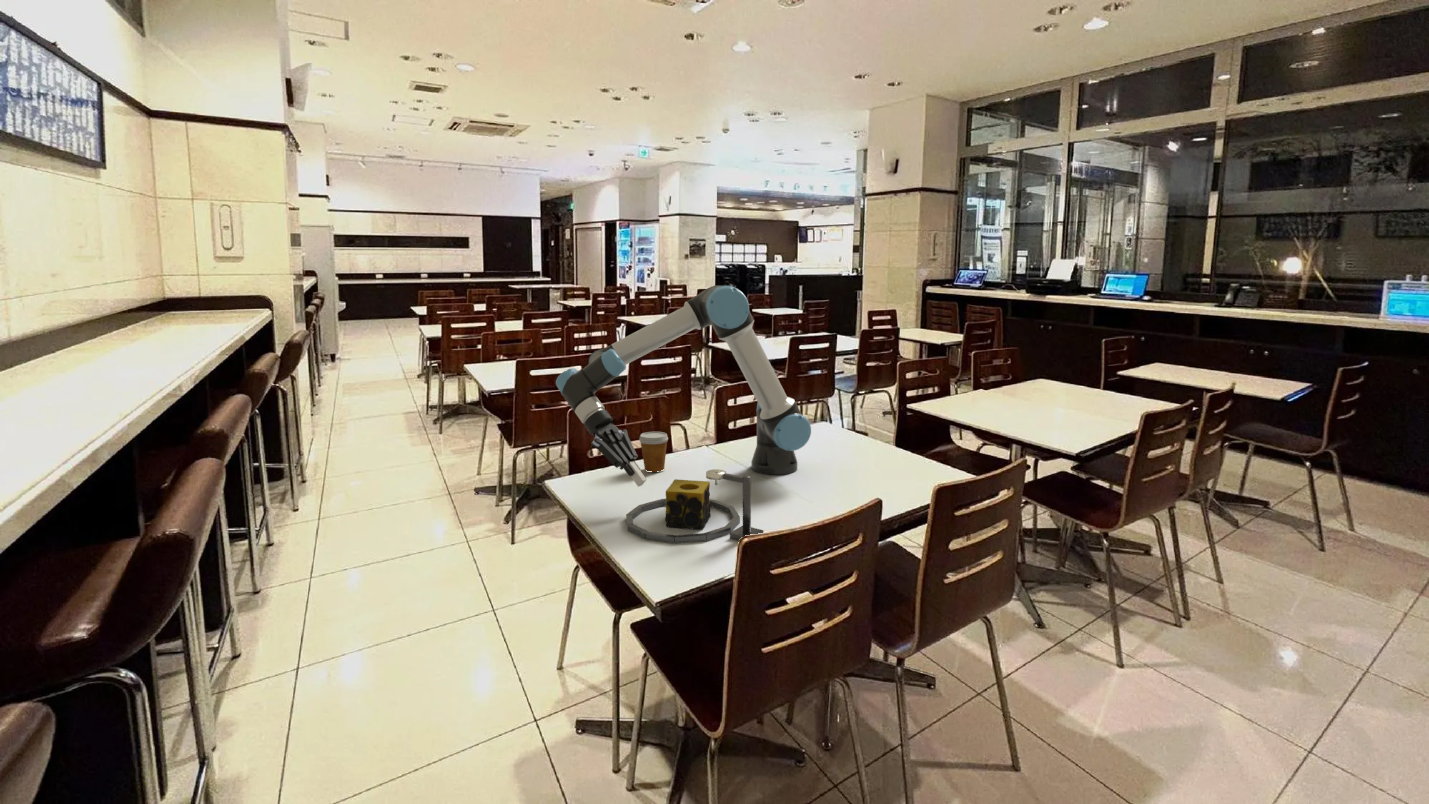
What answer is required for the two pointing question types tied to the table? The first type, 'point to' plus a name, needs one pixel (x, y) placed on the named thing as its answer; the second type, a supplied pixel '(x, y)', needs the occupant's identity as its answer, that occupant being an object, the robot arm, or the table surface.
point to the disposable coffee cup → (654, 450)
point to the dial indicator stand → (746, 481)
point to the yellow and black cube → (688, 504)
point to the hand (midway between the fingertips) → (642, 483)
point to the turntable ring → (681, 538)
